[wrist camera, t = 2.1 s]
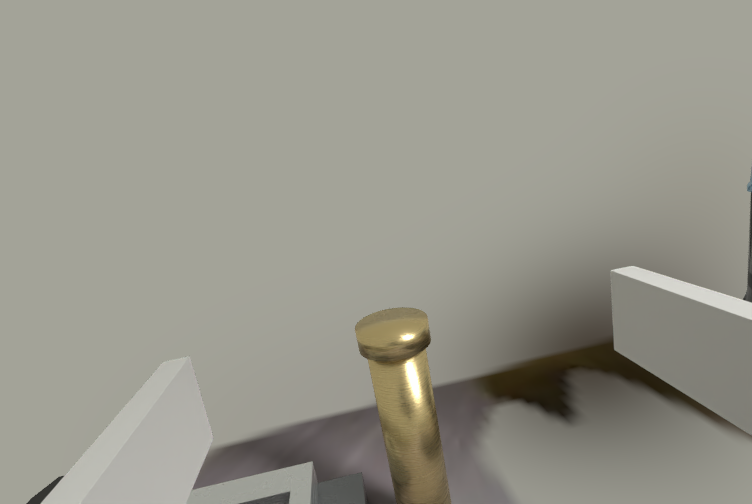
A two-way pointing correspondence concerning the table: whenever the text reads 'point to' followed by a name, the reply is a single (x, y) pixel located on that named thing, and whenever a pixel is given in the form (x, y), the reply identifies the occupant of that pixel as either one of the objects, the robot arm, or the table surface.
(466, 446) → the table surface
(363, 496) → the square hole block
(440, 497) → the brass pin
